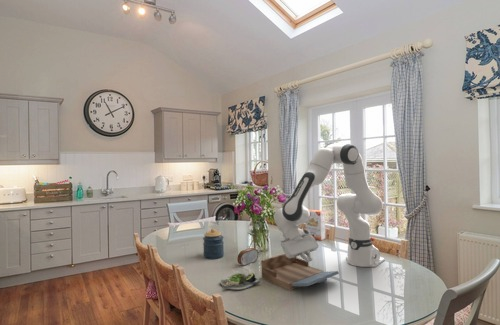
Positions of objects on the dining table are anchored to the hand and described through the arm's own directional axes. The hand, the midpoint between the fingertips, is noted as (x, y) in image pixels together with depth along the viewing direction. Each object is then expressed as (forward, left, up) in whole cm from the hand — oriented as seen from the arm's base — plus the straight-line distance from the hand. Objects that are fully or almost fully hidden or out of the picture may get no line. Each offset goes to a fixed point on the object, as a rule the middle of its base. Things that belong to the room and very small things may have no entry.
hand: (309, 261), depth 149 cm
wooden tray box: (0, -12, -11) cm, 16 cm away
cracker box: (-67, -55, -11) cm, 87 cm away
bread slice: (+4, -44, -11) cm, 45 cm away
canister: (+12, -70, -11) cm, 72 cm away
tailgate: (0, -1, -8) cm, 8 cm away
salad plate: (+24, -24, -12) cm, 36 cm away
